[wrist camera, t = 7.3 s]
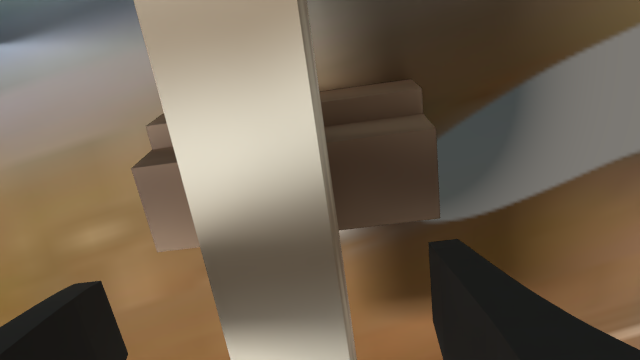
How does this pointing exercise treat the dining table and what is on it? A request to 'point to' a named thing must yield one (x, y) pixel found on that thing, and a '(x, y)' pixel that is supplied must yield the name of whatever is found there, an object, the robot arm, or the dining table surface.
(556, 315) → the robot arm
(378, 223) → the walnut ridge
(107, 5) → the dining table surface
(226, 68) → the metal bar
